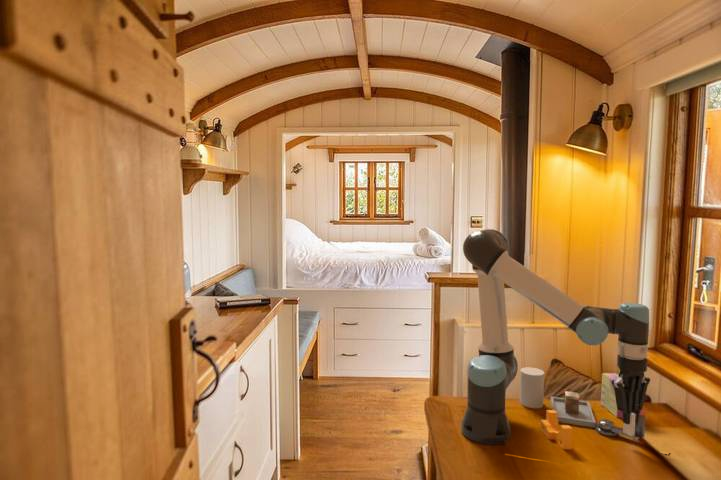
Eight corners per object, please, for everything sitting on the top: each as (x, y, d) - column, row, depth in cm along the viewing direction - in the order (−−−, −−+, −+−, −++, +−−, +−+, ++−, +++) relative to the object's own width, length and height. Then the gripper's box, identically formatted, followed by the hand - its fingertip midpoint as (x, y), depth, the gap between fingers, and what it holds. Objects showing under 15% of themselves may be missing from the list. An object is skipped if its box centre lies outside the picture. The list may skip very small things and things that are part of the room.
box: (633, 418, 148) (635, 384, 147) (616, 418, 148) (618, 384, 148) (616, 404, 159) (617, 372, 158) (600, 404, 159) (601, 372, 158)
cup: (545, 401, 161) (546, 370, 160) (541, 410, 154) (542, 377, 153) (522, 396, 165) (523, 365, 164) (517, 404, 158) (518, 372, 158)
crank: (596, 427, 139) (597, 397, 138) (601, 423, 142) (602, 393, 141) (641, 443, 129) (643, 411, 129) (646, 438, 132) (647, 407, 132)
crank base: (591, 430, 139) (591, 427, 139) (600, 425, 143) (601, 422, 143) (664, 459, 123) (664, 456, 123) (672, 453, 127) (672, 449, 127)
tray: (553, 421, 146) (553, 416, 146) (550, 401, 161) (550, 396, 161) (595, 427, 141) (595, 422, 141) (588, 406, 157) (588, 401, 157)
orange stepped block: (540, 429, 141) (540, 410, 140) (553, 429, 141) (554, 410, 140) (556, 449, 129) (557, 428, 128) (571, 449, 129) (572, 428, 128)
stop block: (565, 412, 150) (566, 395, 150) (564, 407, 154) (565, 391, 154) (578, 414, 149) (579, 397, 148) (577, 409, 152) (578, 392, 152)
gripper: (627, 362, 123) (623, 443, 124) (660, 357, 127) (656, 436, 129) (604, 354, 130) (601, 430, 132) (636, 350, 134) (633, 424, 136)
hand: (628, 433), depth 130 cm, fingers closed
